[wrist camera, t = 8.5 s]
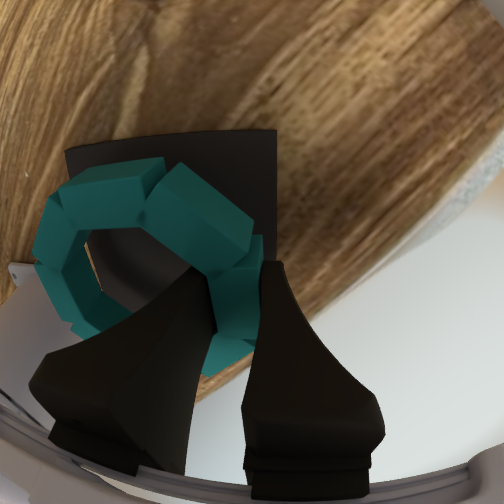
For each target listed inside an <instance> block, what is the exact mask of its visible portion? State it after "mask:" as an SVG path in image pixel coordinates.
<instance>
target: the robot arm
mask: <svg viewBox="0 0 504 504" xmlns="http://www.w3.org/2000/svg"><path fill="white" fill-rule="evenodd" d="M8 270H9V272H10V274H11V277H12V279H13V281H14V283H15V285H16V287H17V288H16V289H15V291H14V292H13V293H12V294H11V295H10V296H9V297H8V298H7V300H6V301H5V302H4V303H3V304H2V305H1V307H0V504H160V503H156V502H153V501H149V500H146V499H142V498H139V497H135V496H133V495H130V494H127V493H126V492H124V491H122V490H120V489H117V488H116V487H114V486H112V485H110V484H109V483H107V482H106V481H104V480H103V479H102V478H100V477H99V476H98V475H96V474H93V473H91V472H89V471H87V470H85V469H83V468H81V467H84V468H86V469H89V470H91V471H93V472H96V473H98V474H101V475H103V476H106V477H109V478H112V479H114V480H117V481H120V482H123V483H126V484H129V485H132V486H135V487H138V488H142V489H145V490H149V491H152V492H156V493H159V494H164V495H167V496H172V497H176V498H180V499H185V500H190V501H195V502H200V503H206V504H504V443H502V444H500V445H497V446H494V447H492V448H489V449H486V450H484V451H482V452H480V453H478V454H477V455H475V456H474V457H473V458H471V459H470V460H469V461H468V462H466V463H464V464H460V465H457V466H453V467H450V468H446V469H443V470H439V471H435V472H431V473H427V474H422V475H417V476H413V477H408V478H402V479H397V480H392V481H384V482H377V483H369V469H370V468H371V465H372V463H371V453H372V452H373V451H374V449H375V448H376V447H377V446H378V445H379V444H380V443H381V441H382V440H383V438H384V436H385V435H386V434H385V425H384V420H383V416H382V413H381V410H380V407H379V404H378V402H377V399H376V397H375V395H374V394H373V393H372V392H371V391H369V390H368V389H367V388H366V387H365V386H363V385H362V384H361V383H360V382H359V381H358V380H357V379H355V378H354V377H353V376H352V375H351V374H350V373H349V372H348V371H347V370H346V369H345V368H344V367H343V366H342V365H341V364H340V363H339V361H338V360H337V359H336V358H335V357H334V356H333V355H332V353H331V352H330V351H329V350H328V349H327V348H326V347H325V345H324V344H323V343H322V341H321V340H320V339H319V337H318V336H317V335H316V333H315V332H314V331H313V329H312V327H311V326H310V324H309V323H308V321H307V319H306V318H305V316H304V314H303V313H302V311H301V309H300V307H299V305H298V303H297V301H296V299H295V297H294V295H293V293H292V291H291V288H290V286H289V283H288V280H287V278H286V274H285V271H284V264H283V263H282V262H281V261H271V260H263V264H262V268H261V316H260V322H259V328H258V334H257V339H256V345H255V350H254V355H253V360H252V364H251V369H250V374H249V378H248V382H247V386H246V390H245V394H244V398H243V402H242V405H241V412H242V419H243V427H244V435H245V441H246V449H245V456H244V463H243V470H245V473H246V478H247V484H248V485H242V484H241V485H240V484H232V483H224V482H217V481H210V480H204V479H199V478H193V477H188V476H184V475H185V465H186V455H187V447H188V440H189V433H190V426H191V420H192V414H193V408H194V402H195V397H196V392H197V387H198V382H199V378H200V375H201V371H202V368H203V365H204V362H205V359H206V356H207V353H208V350H209V347H210V344H211V341H212V337H213V334H214V331H215V328H216V325H217V324H216V320H215V315H214V310H213V305H212V300H211V296H210V291H209V286H208V280H207V276H205V275H204V274H203V273H201V272H200V271H199V270H197V269H196V268H194V267H193V266H191V267H189V268H188V269H187V270H186V271H185V272H184V273H183V274H182V275H181V276H180V277H179V278H177V279H176V280H175V281H174V282H173V283H172V284H171V285H170V286H168V287H167V288H166V289H165V290H164V291H162V292H161V293H160V294H159V295H157V296H156V297H155V298H154V299H153V300H151V301H150V302H149V303H147V304H146V305H145V306H143V307H142V308H141V309H139V310H138V311H136V312H135V313H133V314H132V315H130V316H129V317H127V318H126V319H124V320H122V321H120V322H119V323H117V324H115V325H113V326H112V327H110V328H108V329H106V330H104V331H103V332H101V333H99V334H96V335H94V336H92V337H90V338H88V339H86V340H83V339H82V338H80V337H79V336H78V335H76V334H75V333H73V332H72V331H71V330H70V329H71V327H72V325H73V323H71V322H65V321H62V320H61V318H60V316H59V315H58V313H57V311H56V309H55V307H54V306H53V304H52V302H51V300H50V298H49V296H48V294H47V292H46V290H45V289H44V287H43V285H42V283H41V281H40V278H39V276H38V274H37V272H36V270H35V268H34V264H24V263H14V262H11V263H10V264H9V265H8ZM80 466H81V467H80Z"/></svg>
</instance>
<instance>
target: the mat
mask: <svg viewBox="0 0 504 504" xmlns="http://www.w3.org/2000/svg"><path fill="white" fill-rule="evenodd" d="M64 152H65V157H66V163H67V168H68V172H69V177H70V179H72V178H73V177H75V176H77V175H78V174H80V173H81V172H83V171H84V170H86V169H87V168H90V167H96V166H101V165H107V164H113V163H120V162H126V161H133V160H140V159H148V158H156V157H164V160H165V166H166V172H167V173H168V172H169V171H170V170H172V169H173V168H174V167H175V166H176V165H177V164H178V163H179V162H182V163H183V164H184V165H186V166H187V167H188V168H189V169H191V170H192V171H193V172H194V173H196V174H197V175H198V176H199V177H201V178H202V179H203V180H204V181H206V182H207V183H208V184H209V185H211V186H212V187H213V188H214V189H216V190H217V191H218V192H219V193H221V194H222V195H223V196H224V197H226V198H227V199H228V200H229V201H231V202H232V203H233V204H234V205H235V206H237V207H238V208H239V209H240V210H242V211H243V212H244V213H245V214H246V215H248V216H249V217H250V218H251V219H253V221H254V225H253V230H252V235H262V237H263V255H264V260H271V261H276V244H277V130H222V131H202V132H187V133H175V134H164V135H154V136H145V137H137V138H129V139H122V140H115V141H108V142H102V143H96V144H90V145H85V146H79V147H74V148H69V149H67V150H65V151H64ZM86 242H87V245H88V248H89V251H90V254H91V257H92V260H93V263H94V266H95V269H96V272H97V275H98V278H99V281H100V283H101V286H102V289H103V291H104V293H106V294H107V295H108V296H110V297H111V298H112V299H114V300H115V301H117V302H118V303H119V304H121V305H122V306H124V307H125V308H126V309H128V310H129V311H131V312H132V313H135V312H136V311H138V310H139V309H141V308H142V307H143V306H145V305H146V304H147V303H149V302H150V301H151V300H153V299H154V298H155V297H156V296H157V295H159V294H160V293H161V292H162V291H164V290H165V289H166V288H167V287H168V286H170V285H171V284H172V283H173V282H174V281H175V280H176V279H177V278H179V277H180V276H181V275H182V274H183V273H184V272H185V271H186V270H187V269H188V268H189V267H191V266H192V265H190V264H189V263H188V262H186V261H185V260H184V259H182V258H181V257H179V256H178V255H177V254H175V253H174V252H173V251H171V250H170V249H169V248H167V247H166V246H165V245H163V244H162V243H161V242H159V241H158V240H157V239H155V238H154V237H153V236H152V235H150V234H149V233H148V232H146V231H145V230H144V229H142V228H141V227H135V228H114V229H95V230H92V231H91V233H90V235H89V237H88V239H87V241H86Z"/></svg>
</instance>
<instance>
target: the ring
mask: <svg viewBox="0 0 504 504" xmlns="http://www.w3.org/2000/svg"><path fill="white" fill-rule="evenodd" d="M253 225H254V221H253V219H251V218H250V217H249V216H248V215H246V214H245V213H244V212H243V211H242V210H240V209H239V208H238V207H237V206H235V205H234V204H233V203H232V202H231V201H229V200H228V199H227V198H226V197H224V196H223V195H222V194H221V193H219V192H218V191H217V190H216V189H214V188H213V187H212V186H211V185H209V184H208V183H207V182H206V181H204V180H203V179H202V178H201V177H199V176H198V175H197V174H196V173H194V172H193V171H192V170H191V169H189V168H188V167H187V166H186V165H184V164H183V163H182V162H179V163H178V164H177V165H176V166H175V167H174V168H173V169H172V170H170V171H169V172H168V173H167V172H166V166H165V160H164V157H156V158H148V159H140V160H133V161H126V162H120V163H113V164H107V165H101V166H96V167H90V168H87V169H86V170H84V171H83V172H81V173H80V174H78V175H77V176H75V177H73V178H72V179H70V180H69V181H67V182H66V183H65V184H63V185H62V186H60V187H59V188H58V190H57V191H56V192H54V193H53V194H52V195H50V196H49V197H48V199H47V202H46V205H45V208H44V211H43V214H42V217H41V221H40V224H39V227H38V231H37V234H36V238H35V241H34V245H33V249H32V255H33V256H34V257H35V258H37V259H38V261H37V262H36V263H35V264H34V268H35V270H36V272H37V274H38V276H39V278H40V281H41V283H42V285H43V287H44V289H45V290H46V292H47V294H48V296H49V298H50V300H51V302H52V304H53V306H54V307H55V309H56V311H57V313H58V315H59V316H60V318H61V320H62V321H65V322H71V323H73V325H72V327H71V329H70V330H71V331H72V332H73V333H75V334H76V335H78V336H79V337H80V338H82V339H83V340H86V339H88V338H90V337H92V336H94V335H96V334H99V333H101V332H103V331H104V330H106V329H108V328H110V327H112V326H113V325H115V324H117V323H119V322H120V321H122V320H124V319H126V318H127V317H129V316H130V315H132V314H133V313H132V312H131V311H129V310H128V309H126V308H125V307H124V306H122V305H121V304H119V303H118V302H117V301H115V300H114V299H112V298H111V297H110V296H108V295H107V294H106V293H104V292H103V291H102V290H101V288H100V285H99V283H98V281H97V278H96V276H95V273H94V271H93V269H92V266H91V263H90V261H89V258H88V256H87V253H86V250H85V248H84V245H85V243H86V241H87V239H88V237H89V235H90V233H91V231H92V230H95V229H114V228H135V227H141V228H142V229H144V230H145V231H146V232H148V233H149V234H150V235H152V236H153V237H154V238H155V239H157V240H158V241H159V242H161V243H162V244H163V245H165V246H166V247H167V248H169V249H170V250H171V251H173V252H174V253H175V254H177V255H178V256H179V257H181V258H182V259H184V260H185V261H186V262H188V263H189V264H190V265H192V266H193V267H194V268H196V269H197V270H199V271H200V272H201V273H203V274H204V275H205V276H207V280H208V286H209V291H210V296H211V300H212V305H213V310H214V315H215V320H216V324H217V325H216V328H215V331H214V334H213V337H212V341H211V344H210V347H209V350H208V353H207V356H206V359H205V362H204V365H203V368H202V371H201V374H203V375H205V376H207V377H211V376H212V375H214V374H216V373H218V372H219V371H221V370H223V369H224V368H226V367H228V366H230V365H231V364H233V363H235V362H236V361H238V360H240V359H241V358H243V357H245V356H246V355H248V354H249V353H251V352H253V351H254V350H255V345H256V339H257V334H258V328H259V322H260V316H261V268H262V264H263V260H264V255H263V237H262V235H252V230H253Z"/></svg>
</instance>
